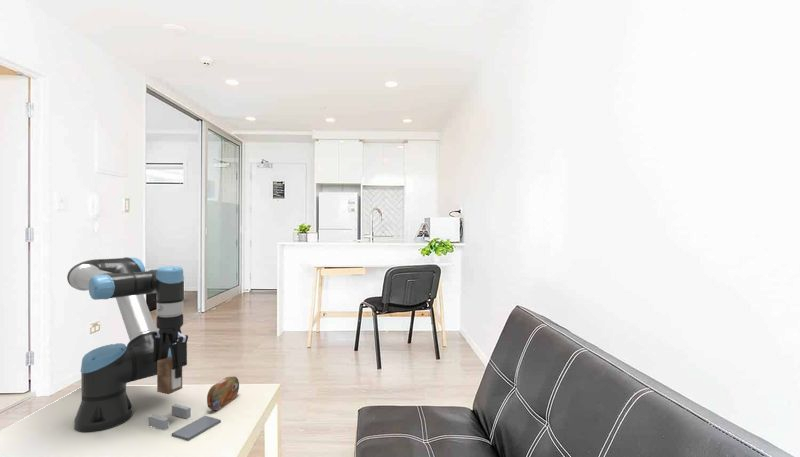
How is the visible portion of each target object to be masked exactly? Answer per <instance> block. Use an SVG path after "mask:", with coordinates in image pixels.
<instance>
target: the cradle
mask: <svg viewBox="0 0 800 457" xmlns="http://www.w3.org/2000/svg"><path fill="white" fill-rule="evenodd" d="M191 411H192V409H191V407H189V406H185V405H181V404H179V403H175V404H173V405H171V416H175V417H178V418H183V419H186V420H188V419H189V418H191V416H192V414H191ZM151 426H152V427H151ZM148 427H151V428H154V427H155V429H156V430H157V429H158V430H161V431H166V430H167V429H169V418H167V417H164V416H160V415H157V414H154V413H153V414H151V415H149V416H148Z"/></svg>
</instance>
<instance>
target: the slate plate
mask: <svg viewBox="0 0 800 457" xmlns="http://www.w3.org/2000/svg"><path fill="white" fill-rule="evenodd" d="M221 422H222V420H221V419H219V418H215V417H211V416H208V415H203V416H202V417H199V418H198V419H196V420H194V421H192V422H189V423H188V424H186V425H184V426H182V427H181V428H179V429H177V430H175V431H173V432H171V437H174V438H177V439H180V440H183V441H187V442H189V441H191V440H192V439H194V438H196V437H198V436H199V435H201V434H203V433H204V432H206V431H208V430H210V429H211V428H213V427H215V426H217V425H219V424H220V423H221Z"/></svg>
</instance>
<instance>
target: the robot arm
mask: <svg viewBox="0 0 800 457" xmlns="http://www.w3.org/2000/svg"><path fill="white" fill-rule="evenodd" d="M66 278H67V283H68V285H69V286H70V287H71V288H73V289H75V290H77V291H78V290H79V291H83V292H85V291H88V293H89V294H88V295H89V296H90V298H91V300H99V301H100V300H109V299H115V300H116V302H117V306H118V308H119V312H120V314H121V317H122V321H123V325H124V326H125V327H124V328H125V329H126V332H127V335H128V339H129V341H128V342H127V344H125V343H114V344H113V343H111V344H106V345H103V346H100V347H96V348H94V349H92V350H90V351H88V352H87V353H85V354H84V355H83V357H82V358H81V367H80V373H81V376H80V377H81V380H80V381H81V382H80V383H81V385H80V386H81V387H80V388H81V389H80V390H81V400H80V405H79V407H78V410H77V412H76V415H75V418H74V422H73V423H74V425H73V426H74V429H75V430H76V431H78V432H82V433H92V432H98V431H104V430H107V429H110V428H113V427H116V426H118V425H121V424H123V423H125V422H127V421H129V419H130V418H131V417H132V416H133V404H132V403H131V400H130V398H129V396H128V392H127V383H131V382H136V381H139V380H144V379H147V378H151V377H155V376H157V361H158V360H161V359H164V358H167V357H170V356H172V361H173V368H172V389H175V388H178V387H180V386H181V376H182V377H183V367H185V366H187V365H188V343H187V342H188V339H189V335H188V334H185V335H184V334H182V330H181V329H182V326H183V325H184V314H183V313H184V311H185V309H184V307H185V306H184V280H185V276H184V269H183V267H182V266H177V265H176V266H175V265H173V266H172V265H171V266H170V265H169V266H167V265H166V266H160V267H158V268H157V269H148V270H146V268H145V264H144V263H143V262H142V260H141V259H139V258H137V257H128V256H125V257H120V258H99V259H98V258H97V259H89V260H85V261H84V260H83V261H82V262H79V263H77V264H75V265H74V266H72V267H71V268H70V269H69V271H68V273H67V275H66ZM150 294H156V315H157V316H156V319H155V321H156V323H155V322H154V320H153V316H152V315H151V311H150V309H149V306H148V304H147V301H146V298H145V296H144V295H150ZM155 324H156V325H155ZM177 363H178V364H177ZM181 372H182V373H181Z"/></svg>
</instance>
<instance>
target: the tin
mask: <svg viewBox="0 0 800 457" xmlns="http://www.w3.org/2000/svg"><path fill="white" fill-rule="evenodd" d="M239 389H240V381H239V379H238V377H237V376H234V375H233V376H227V377H225V378H223V379H222V380H220V381H218V382H217V383H215V384H214V385H212V386H210V388H209V390H208V392H207V394H206V395H207V396H206V404H207V408H208V409H210V410H212V411H213V410H215V411H220V410H221V409H223V408H224V407H226V406H227V405H228V404H230V403H231V402H233V401H234V400H235V399H236V398H237V396H238V393H239Z"/></svg>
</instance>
